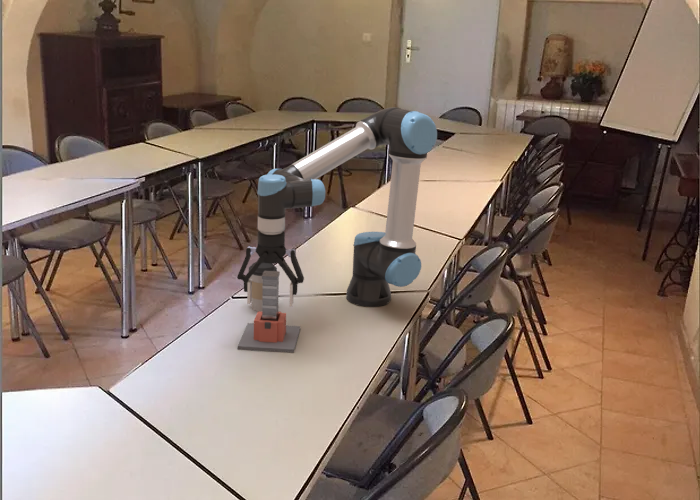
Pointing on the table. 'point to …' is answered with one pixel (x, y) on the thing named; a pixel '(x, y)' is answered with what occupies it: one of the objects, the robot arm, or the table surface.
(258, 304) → the coffee cup
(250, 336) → the stand
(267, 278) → the column
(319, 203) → the robot arm
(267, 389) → the table surface
